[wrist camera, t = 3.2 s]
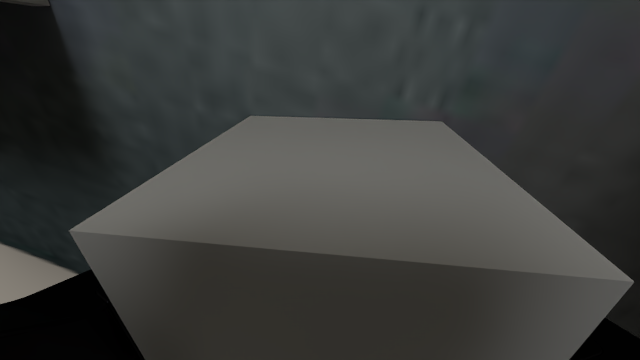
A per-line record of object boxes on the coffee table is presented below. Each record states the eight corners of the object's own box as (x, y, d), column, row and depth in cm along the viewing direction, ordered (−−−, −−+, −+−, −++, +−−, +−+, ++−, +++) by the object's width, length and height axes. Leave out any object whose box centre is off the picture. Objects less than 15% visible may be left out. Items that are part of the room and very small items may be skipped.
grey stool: (441, 121, 8) (635, 282, 3) (408, 265, 11) (463, 486, 6) (250, 115, 9) (68, 230, 3) (268, 252, 12) (190, 435, 6)
